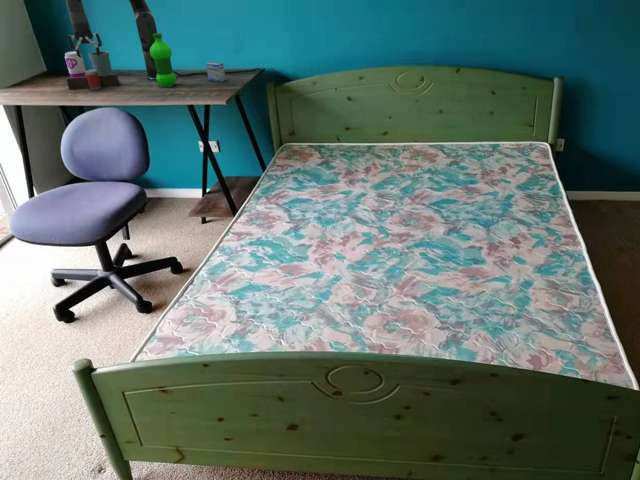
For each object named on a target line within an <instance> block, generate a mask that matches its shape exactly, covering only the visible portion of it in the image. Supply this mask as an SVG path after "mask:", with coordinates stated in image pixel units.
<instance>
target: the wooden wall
mask: <svg viewBox="0 0 640 480" xmlns="http://www.w3.org/2000/svg"><path fill="white" fill-rule="evenodd" d="M65 79H66V82H67V86H68V89H69V91H72V90H83V89H90V87H89V84H88V80H87V77H86V76H83V77H72V78H71V77H66V78H65ZM99 79H100V83H101V87H102V88H105V87H115V86H116V87H117V86H120V83H121V82H120V80H119V77H118V73H117V72H116V73H112V74H105V75H99Z"/></svg>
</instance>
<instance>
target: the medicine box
mask: <svg viewBox="0 0 640 480" xmlns="http://www.w3.org/2000/svg"><path fill="white" fill-rule="evenodd" d="M205 66H206V72H207V73H208V74H207V79H208V81H209V82H216V83H217V82H218V83H223V82H225V81H226V73H225V72H226V71H225V66H224V63H223V62H222V63H221V62H212V61H211V62H207V63H206V65H205Z"/></svg>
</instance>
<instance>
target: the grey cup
mask: <svg viewBox="0 0 640 480" xmlns="http://www.w3.org/2000/svg"><path fill="white" fill-rule="evenodd" d="M88 57H89V60H90V63H91V66H92V69H96V70H97V72H98V75H105V74H113V69H112V65H111V59H110V52H109V51H108V50H100V54H99V56H98V55H97V51H96V50H95V51H91V52H88Z"/></svg>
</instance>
